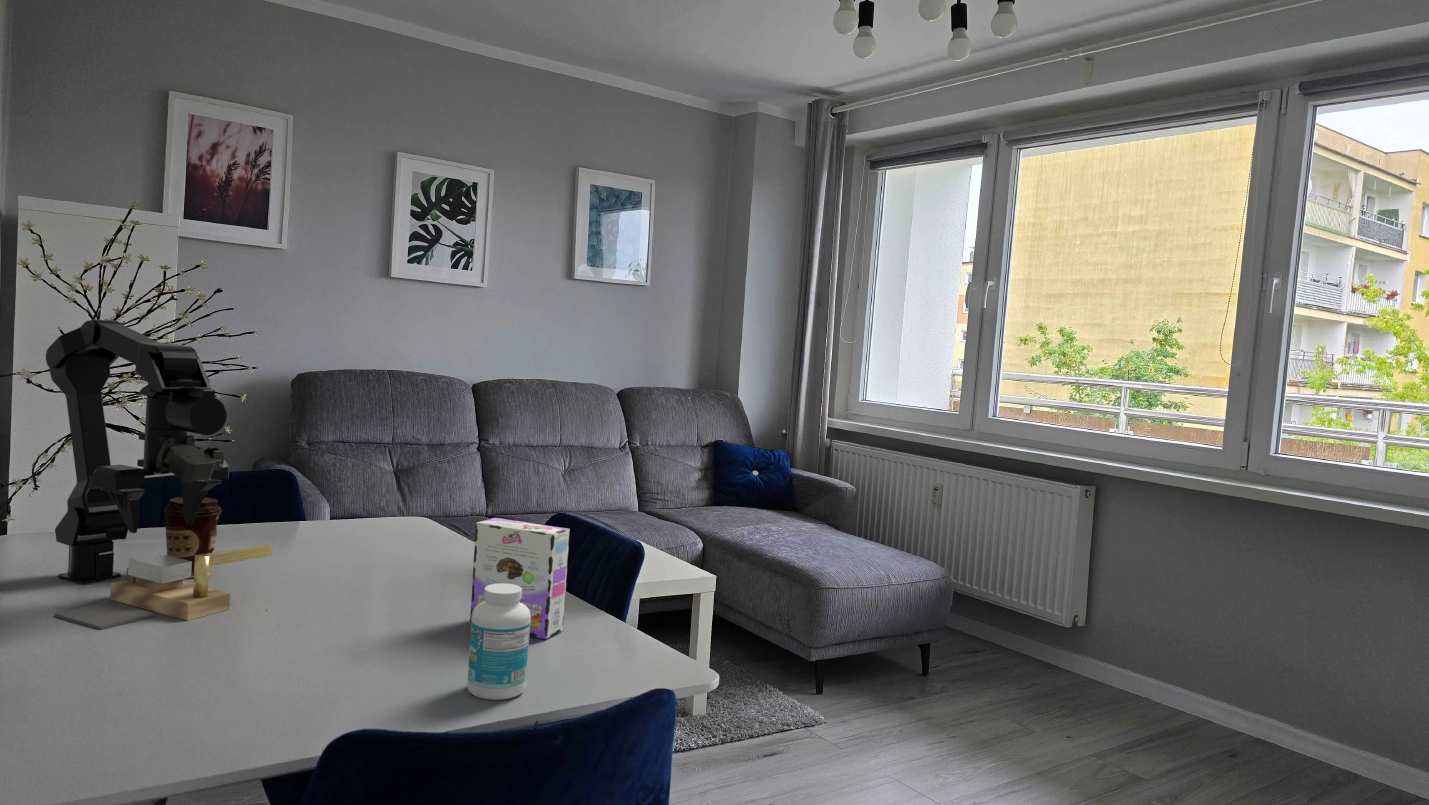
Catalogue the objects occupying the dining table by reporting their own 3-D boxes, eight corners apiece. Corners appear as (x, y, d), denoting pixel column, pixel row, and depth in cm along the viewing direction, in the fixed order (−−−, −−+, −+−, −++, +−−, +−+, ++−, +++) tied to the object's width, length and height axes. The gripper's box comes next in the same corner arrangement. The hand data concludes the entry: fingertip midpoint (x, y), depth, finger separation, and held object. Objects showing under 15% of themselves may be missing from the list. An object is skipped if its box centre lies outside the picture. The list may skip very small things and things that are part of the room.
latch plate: (110, 599, 145) (111, 570, 144) (153, 590, 151) (154, 562, 151) (187, 620, 138) (189, 590, 138) (229, 609, 145) (230, 580, 144)
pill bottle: (471, 679, 125) (478, 578, 124) (528, 682, 125) (535, 582, 125) (461, 700, 117) (468, 594, 116) (521, 703, 118) (529, 597, 117)
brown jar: (191, 583, 156) (195, 506, 156) (148, 577, 158) (151, 500, 157) (228, 572, 165) (232, 498, 164) (187, 566, 167) (190, 493, 166)
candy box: (564, 631, 148) (572, 527, 147) (545, 641, 142) (553, 533, 141) (488, 616, 152) (495, 515, 151) (467, 625, 147) (474, 520, 146)
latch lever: (197, 598, 141) (199, 557, 140) (190, 595, 142) (192, 555, 141) (271, 583, 151) (273, 546, 151) (263, 581, 152) (265, 544, 152)
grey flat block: (127, 574, 145) (128, 558, 144) (157, 569, 149) (158, 553, 149) (162, 583, 142) (163, 567, 142) (191, 577, 146) (191, 561, 146)
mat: (54, 616, 135) (54, 613, 135) (109, 604, 143) (109, 601, 143) (100, 629, 131) (101, 626, 131) (154, 616, 139) (154, 613, 139)
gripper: (145, 437, 132) (139, 546, 133) (256, 430, 149) (251, 527, 150) (92, 428, 137) (87, 534, 138) (206, 422, 154) (201, 517, 155)
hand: (161, 528), depth 145 cm, fingers open, 9 cm apart
